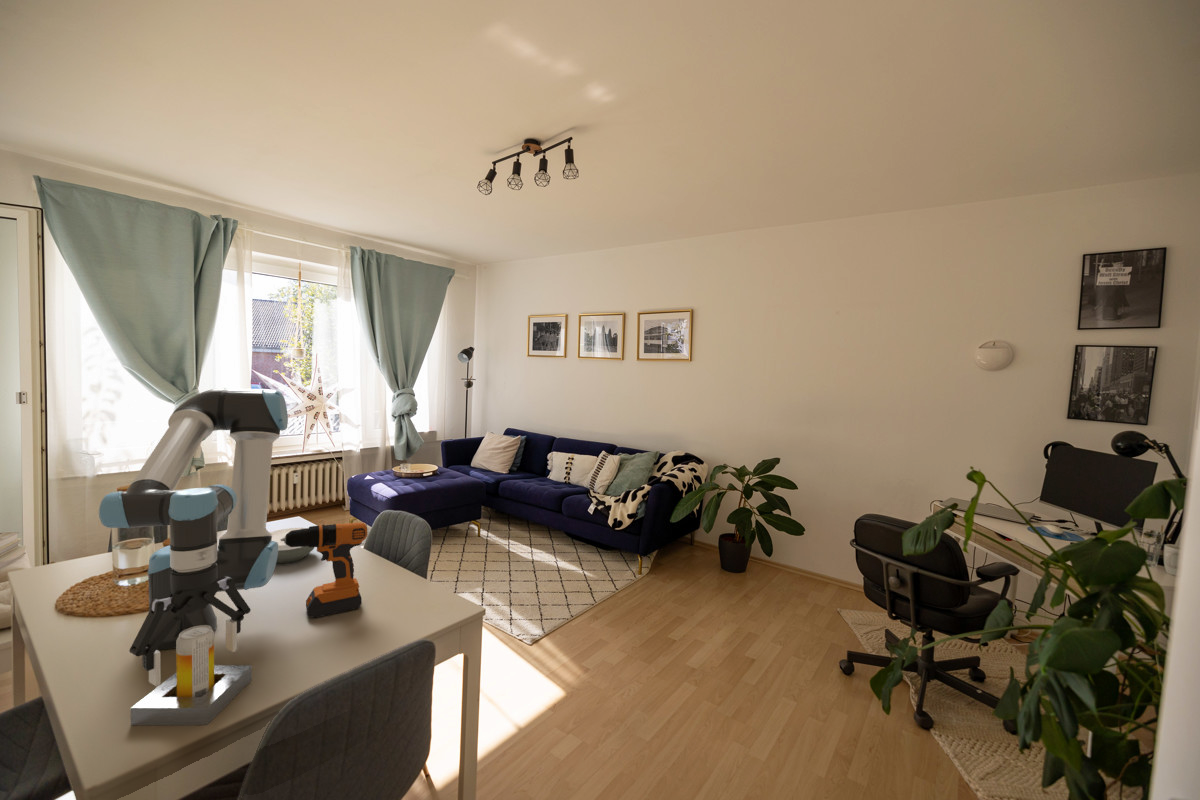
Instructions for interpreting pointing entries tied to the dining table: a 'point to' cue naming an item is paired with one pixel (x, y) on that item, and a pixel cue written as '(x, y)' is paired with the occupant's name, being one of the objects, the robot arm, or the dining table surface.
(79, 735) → the dining table surface
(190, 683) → the beer can
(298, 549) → the bowl
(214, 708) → the collar
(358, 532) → the power drill
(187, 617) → the robot arm
